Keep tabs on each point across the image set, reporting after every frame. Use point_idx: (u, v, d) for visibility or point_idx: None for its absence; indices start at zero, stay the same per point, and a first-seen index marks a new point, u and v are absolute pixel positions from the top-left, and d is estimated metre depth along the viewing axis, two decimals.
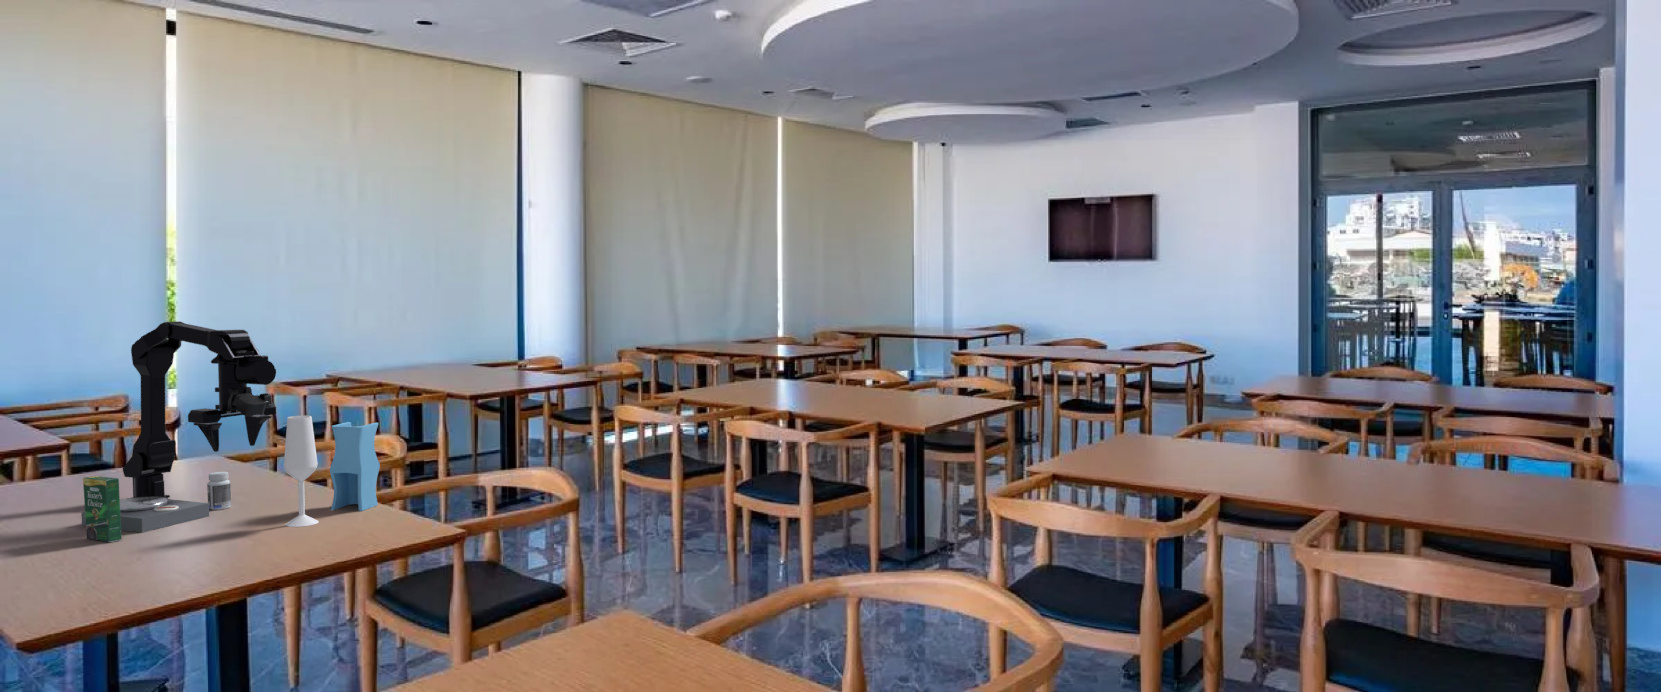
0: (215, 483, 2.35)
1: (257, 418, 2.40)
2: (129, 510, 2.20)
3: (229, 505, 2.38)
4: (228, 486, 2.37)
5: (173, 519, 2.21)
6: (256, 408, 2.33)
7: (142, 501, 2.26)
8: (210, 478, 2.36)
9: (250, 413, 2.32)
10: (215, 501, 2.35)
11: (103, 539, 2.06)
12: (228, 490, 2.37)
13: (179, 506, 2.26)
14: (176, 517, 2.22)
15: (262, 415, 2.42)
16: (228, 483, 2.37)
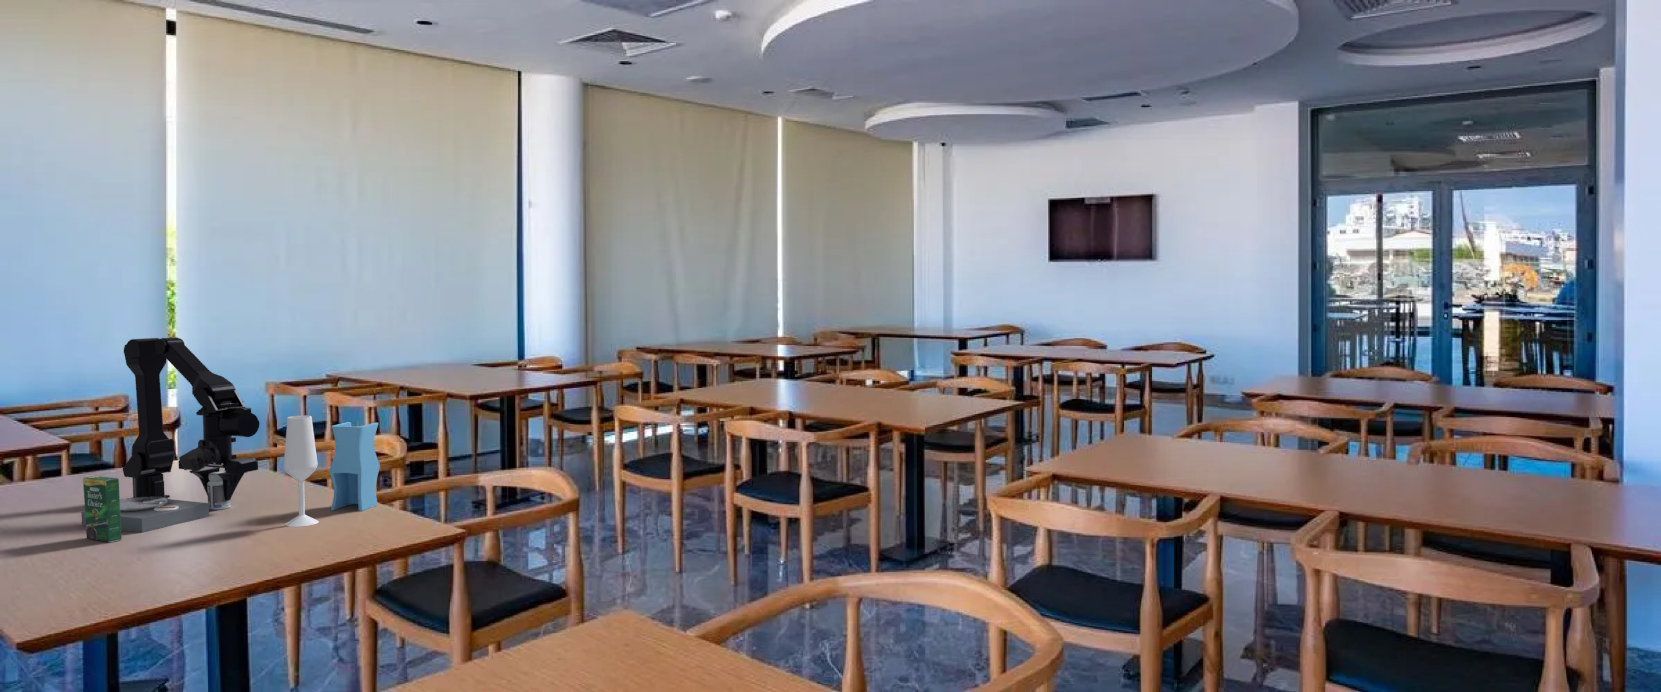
0: (215, 483, 2.35)
1: None
2: (129, 510, 2.20)
3: (229, 505, 2.38)
4: None
5: (173, 519, 2.21)
6: (185, 463, 2.29)
7: (142, 501, 2.26)
8: (210, 478, 2.36)
9: (183, 467, 2.30)
10: (215, 501, 2.35)
11: (103, 539, 2.06)
12: None
13: (179, 506, 2.26)
14: (176, 517, 2.22)
15: (227, 471, 2.35)
16: None
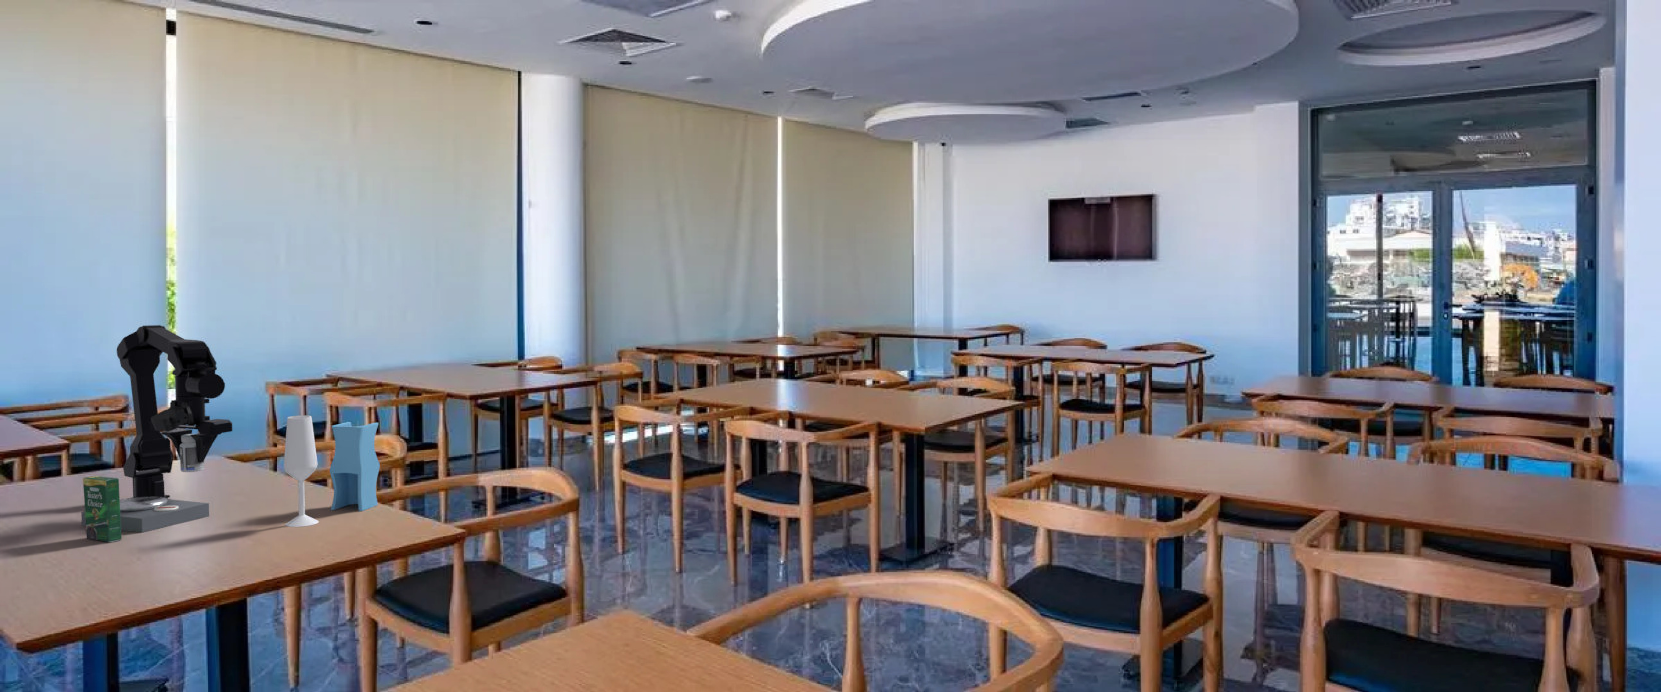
0: (188, 445, 2.31)
1: None
2: (129, 510, 2.20)
3: (202, 467, 2.33)
4: None
5: (173, 519, 2.21)
6: (157, 423, 2.25)
7: (142, 501, 2.26)
8: (183, 440, 2.31)
9: (155, 427, 2.26)
10: (188, 463, 2.31)
11: (103, 539, 2.06)
12: None
13: (179, 506, 2.26)
14: (176, 517, 2.22)
15: (200, 433, 2.30)
16: None
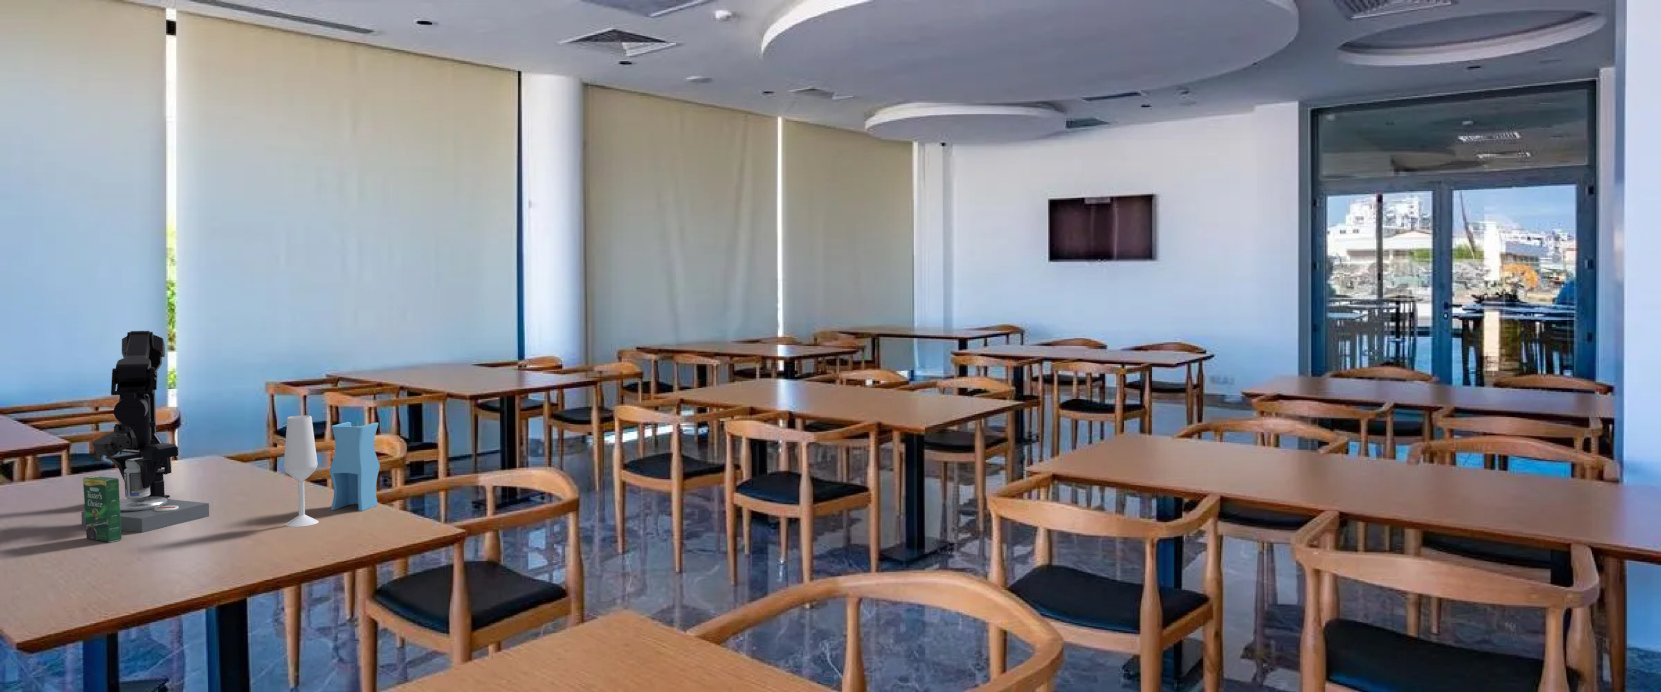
0: (132, 470, 2.23)
1: None
2: (129, 510, 2.20)
3: (148, 493, 2.25)
4: None
5: (173, 519, 2.21)
6: (98, 448, 2.17)
7: (142, 501, 2.26)
8: (127, 465, 2.23)
9: (96, 452, 2.18)
10: (132, 489, 2.23)
11: (103, 539, 2.06)
12: None
13: (179, 506, 2.26)
14: (176, 517, 2.22)
15: None
16: None
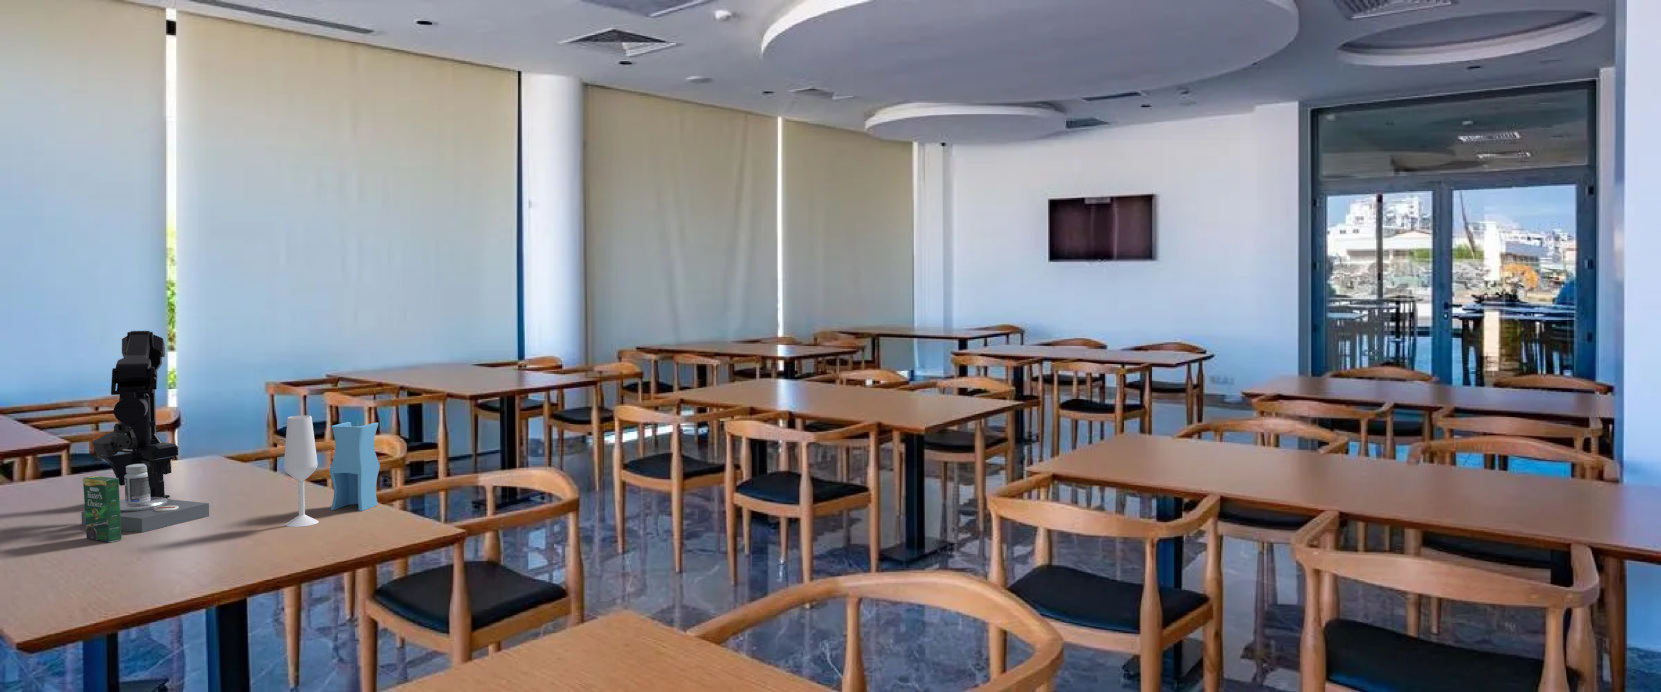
0: (133, 476, 2.23)
1: None
2: (129, 510, 2.20)
3: (148, 499, 2.25)
4: (146, 478, 2.25)
5: (173, 519, 2.21)
6: (98, 448, 2.17)
7: None
8: (127, 470, 2.23)
9: (96, 452, 2.18)
10: (133, 495, 2.23)
11: (103, 539, 2.06)
12: (147, 483, 2.25)
13: (179, 506, 2.26)
14: (176, 517, 2.22)
15: None
16: (147, 476, 2.25)
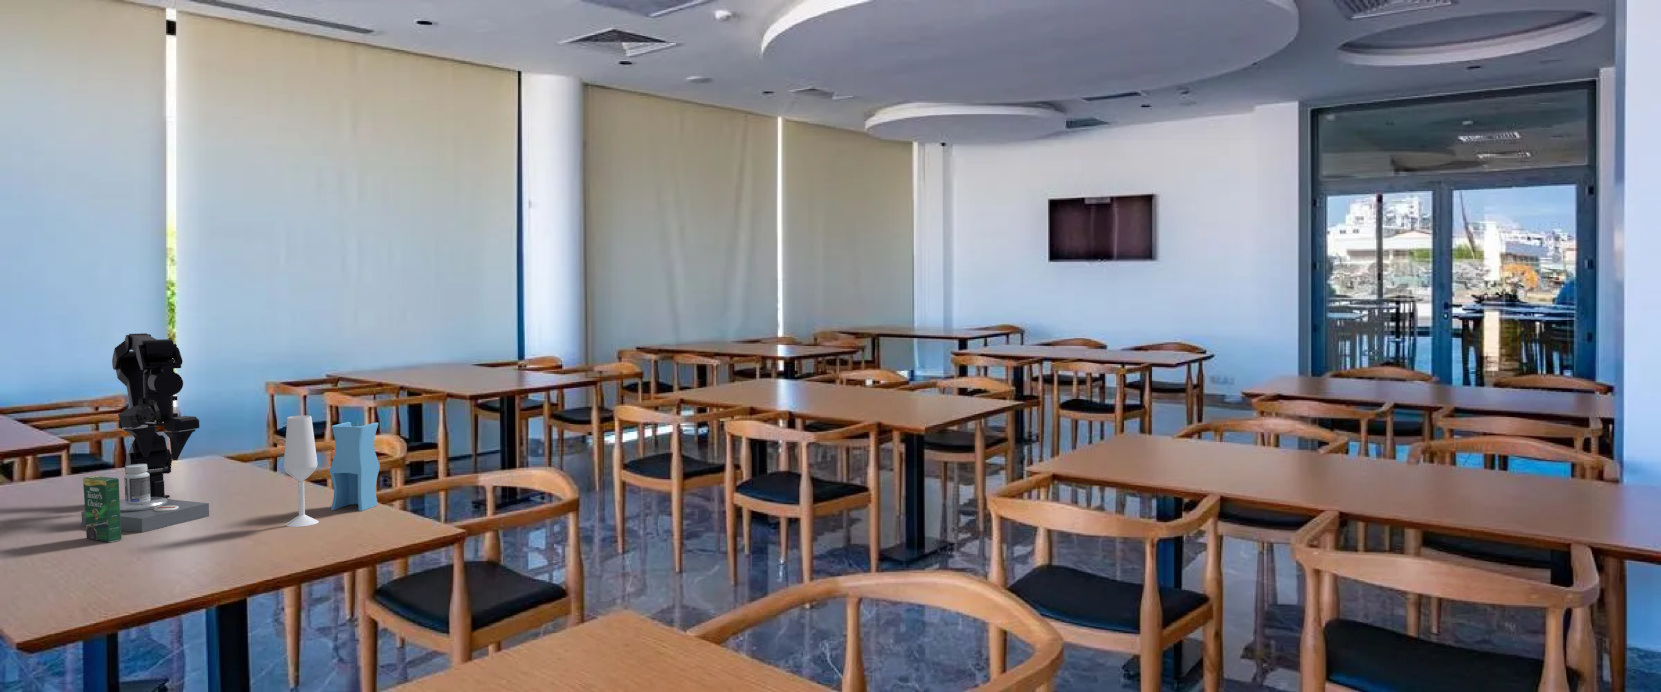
0: (133, 476, 2.23)
1: None
2: (129, 510, 2.20)
3: (148, 499, 2.25)
4: (146, 478, 2.25)
5: (173, 519, 2.21)
6: (124, 420, 2.28)
7: None
8: (127, 470, 2.23)
9: (122, 424, 2.29)
10: (133, 495, 2.23)
11: (103, 539, 2.06)
12: (147, 483, 2.25)
13: (179, 506, 2.26)
14: (176, 517, 2.22)
15: None
16: (147, 476, 2.25)
